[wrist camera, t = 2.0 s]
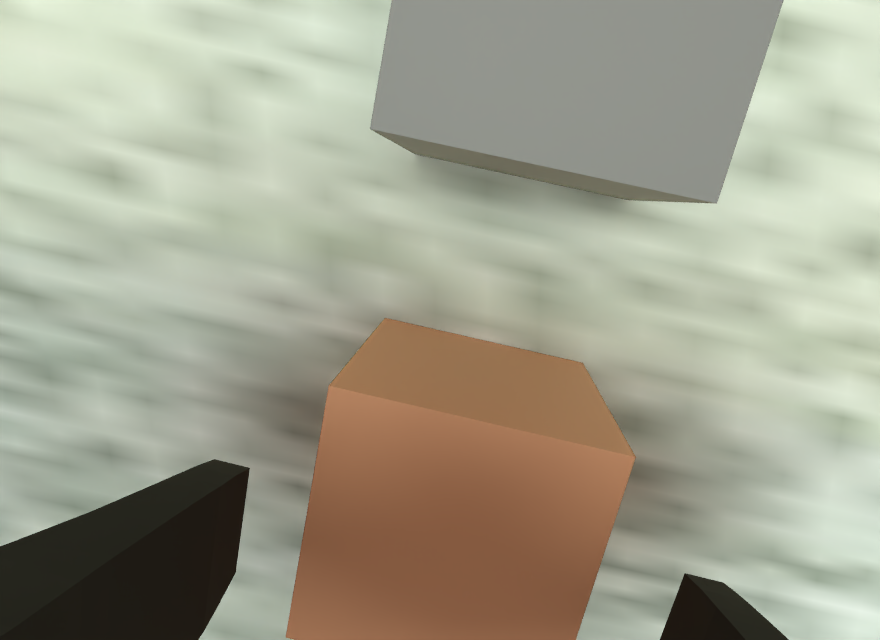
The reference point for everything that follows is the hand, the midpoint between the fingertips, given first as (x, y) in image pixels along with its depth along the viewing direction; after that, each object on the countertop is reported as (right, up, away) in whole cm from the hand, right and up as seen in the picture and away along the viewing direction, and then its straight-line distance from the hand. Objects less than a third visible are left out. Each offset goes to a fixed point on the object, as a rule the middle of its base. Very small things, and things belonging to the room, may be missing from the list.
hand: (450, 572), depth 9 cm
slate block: (+2, +10, +3) cm, 11 cm away
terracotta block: (0, +1, +5) cm, 6 cm away
